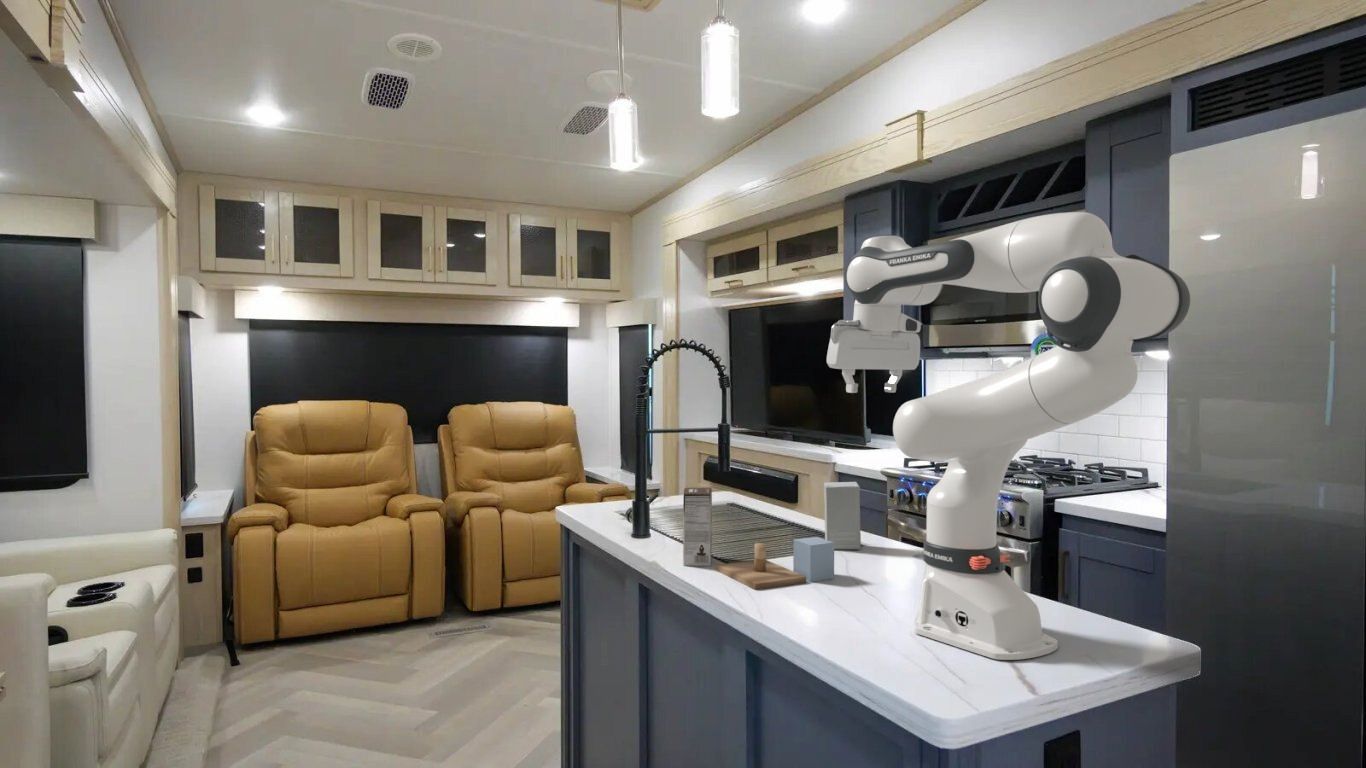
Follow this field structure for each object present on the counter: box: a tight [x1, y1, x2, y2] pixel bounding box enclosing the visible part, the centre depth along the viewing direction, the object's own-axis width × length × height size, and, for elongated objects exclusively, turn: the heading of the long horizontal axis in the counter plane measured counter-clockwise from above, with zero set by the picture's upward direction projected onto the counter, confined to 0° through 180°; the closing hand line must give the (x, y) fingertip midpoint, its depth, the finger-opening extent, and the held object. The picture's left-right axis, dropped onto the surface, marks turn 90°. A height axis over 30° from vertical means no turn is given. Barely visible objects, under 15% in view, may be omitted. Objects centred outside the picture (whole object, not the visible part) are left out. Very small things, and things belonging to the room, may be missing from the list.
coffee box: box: [682, 487, 713, 567], centre depth 171 cm, size 9×6×16 cm
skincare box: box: [823, 481, 862, 551], centre depth 184 cm, size 8×7×16 cm
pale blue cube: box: [792, 536, 835, 583], centre depth 158 cm, size 6×6×8 cm
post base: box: [716, 542, 807, 590], centre depth 158 cm, size 16×12×7 cm
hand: (871, 392), depth 147 cm, fingers open, 8 cm apart
